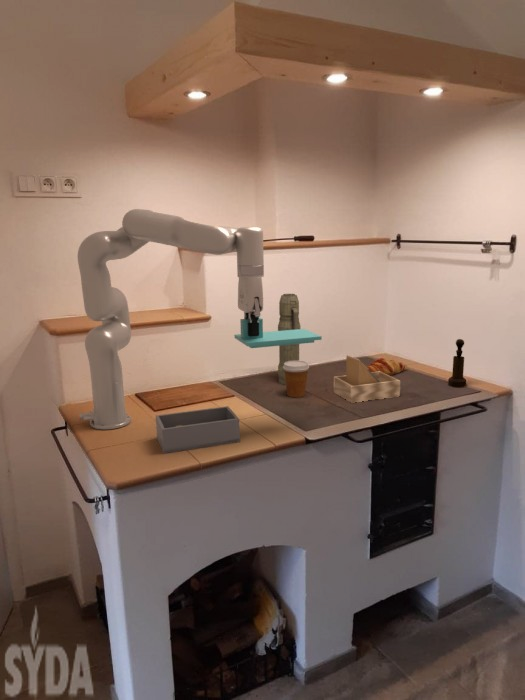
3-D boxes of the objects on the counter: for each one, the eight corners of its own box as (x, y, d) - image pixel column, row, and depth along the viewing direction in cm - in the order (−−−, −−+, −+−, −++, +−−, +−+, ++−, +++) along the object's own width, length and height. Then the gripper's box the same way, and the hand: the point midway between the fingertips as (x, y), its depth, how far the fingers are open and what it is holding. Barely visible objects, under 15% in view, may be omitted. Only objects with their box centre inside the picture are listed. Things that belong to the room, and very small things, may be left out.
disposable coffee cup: (279, 397, 191) (279, 365, 189) (287, 390, 200) (287, 359, 197) (305, 400, 188) (305, 367, 185) (311, 392, 197) (312, 361, 194)
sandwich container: (394, 395, 193) (396, 355, 189) (358, 401, 187) (359, 360, 183) (380, 388, 200) (381, 350, 197) (345, 394, 194) (346, 354, 191)
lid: (247, 349, 148) (247, 323, 146) (234, 341, 160) (233, 316, 158) (321, 343, 155) (321, 317, 154) (303, 335, 167) (303, 311, 165)
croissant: (401, 376, 228) (397, 358, 230) (415, 370, 219) (411, 352, 221) (359, 381, 220) (355, 363, 222) (372, 376, 211) (367, 356, 213)
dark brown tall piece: (451, 381, 207) (454, 336, 203) (468, 384, 204) (471, 338, 200) (445, 385, 202) (448, 339, 198) (463, 388, 198) (466, 341, 194)
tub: (163, 453, 145) (162, 429, 144) (157, 437, 156) (155, 415, 155) (240, 441, 152) (239, 419, 151) (228, 427, 163) (227, 406, 162)
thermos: (289, 387, 203) (288, 296, 195) (271, 380, 212) (270, 293, 205) (307, 383, 207) (307, 295, 200) (289, 377, 217) (289, 292, 209)
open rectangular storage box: (351, 403, 184) (351, 386, 183) (333, 392, 197) (333, 376, 195) (399, 396, 190) (400, 380, 189) (379, 386, 203) (379, 371, 201)
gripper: (229, 270, 156) (231, 331, 160) (246, 274, 141) (248, 341, 146) (254, 269, 159) (255, 329, 163) (272, 273, 144) (273, 339, 148)
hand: (251, 334), depth 154 cm, fingers closed on lid, 2 cm apart
